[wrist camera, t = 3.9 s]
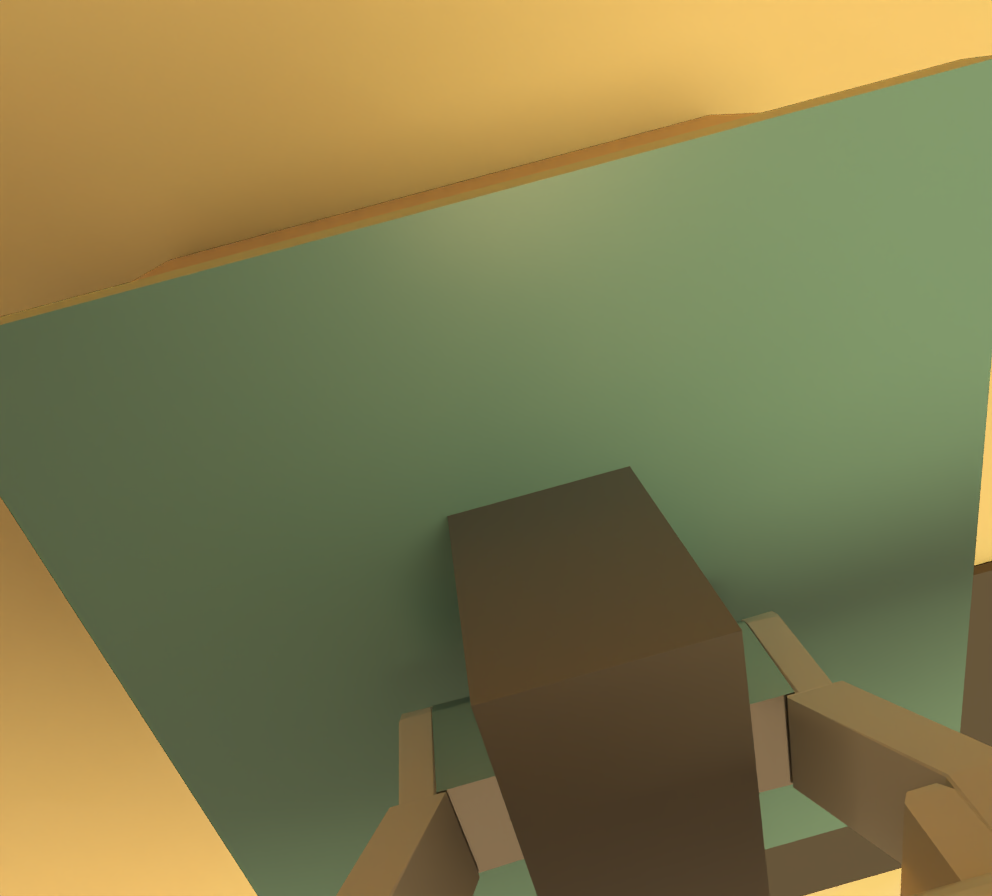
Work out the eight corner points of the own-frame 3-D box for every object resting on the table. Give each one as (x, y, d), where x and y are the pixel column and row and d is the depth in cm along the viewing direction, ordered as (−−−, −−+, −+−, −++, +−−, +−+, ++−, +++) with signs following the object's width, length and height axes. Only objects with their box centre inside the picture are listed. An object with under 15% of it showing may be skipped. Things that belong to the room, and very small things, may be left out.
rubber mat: (696, 915, 32) (700, 925, 31) (649, 657, 25) (652, 664, 24) (1030, 821, 32) (1037, 829, 32) (1076, 538, 25) (1085, 544, 25)
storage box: (351, 670, 23) (330, 912, 16) (170, 259, 17) (5, 353, 10) (750, 560, 24) (905, 750, 16) (709, 115, 17) (927, 105, 10)
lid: (320, 881, 17) (284, 1236, 12) (-5, 310, 11) (-429, 500, 5) (892, 720, 18) (1120, 995, 12) (906, 65, 11) (1420, 1, 6)
